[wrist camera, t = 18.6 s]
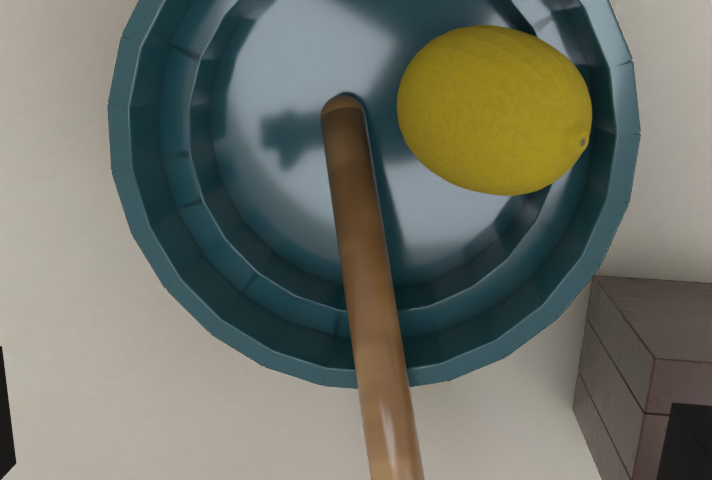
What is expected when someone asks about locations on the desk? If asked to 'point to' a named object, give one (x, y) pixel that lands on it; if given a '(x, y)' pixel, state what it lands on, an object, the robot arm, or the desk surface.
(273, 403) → the desk surface
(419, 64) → the lemon
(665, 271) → the desk surface
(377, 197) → the stirring stick
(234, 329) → the bowl
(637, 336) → the utensil block
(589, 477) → the desk surface
